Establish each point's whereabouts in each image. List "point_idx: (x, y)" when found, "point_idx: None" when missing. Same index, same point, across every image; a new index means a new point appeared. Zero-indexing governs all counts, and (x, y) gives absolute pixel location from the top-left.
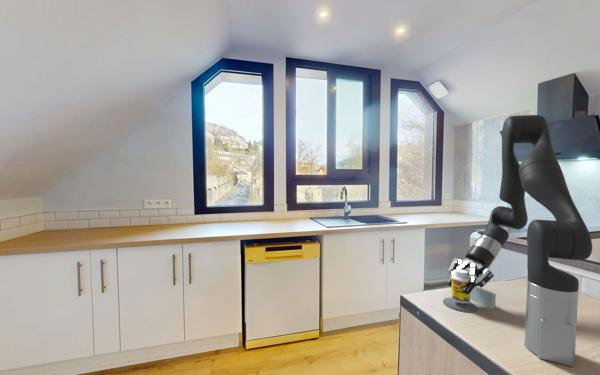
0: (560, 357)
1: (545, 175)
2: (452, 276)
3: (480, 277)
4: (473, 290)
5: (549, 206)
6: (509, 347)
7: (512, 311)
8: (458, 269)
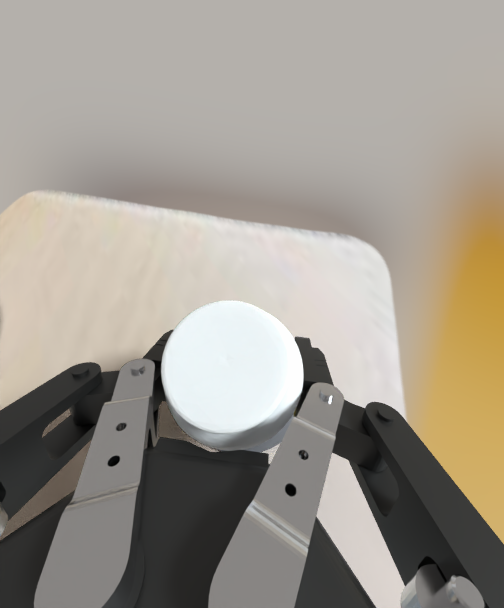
0: None
1: None
2: (274, 318)
3: (40, 408)
4: None
5: None
6: (33, 265)
7: None
8: (271, 380)
